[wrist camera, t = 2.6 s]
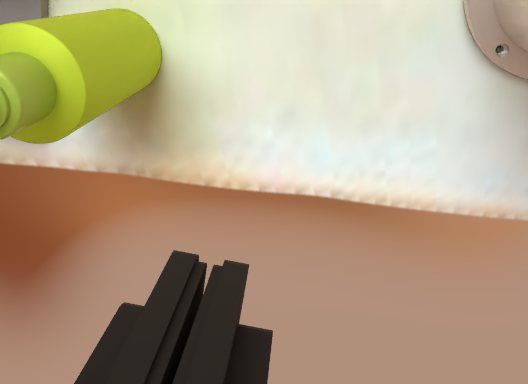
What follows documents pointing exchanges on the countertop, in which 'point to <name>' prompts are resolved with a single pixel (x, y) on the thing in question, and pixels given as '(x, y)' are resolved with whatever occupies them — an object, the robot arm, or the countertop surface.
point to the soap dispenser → (71, 70)
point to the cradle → (22, 10)
